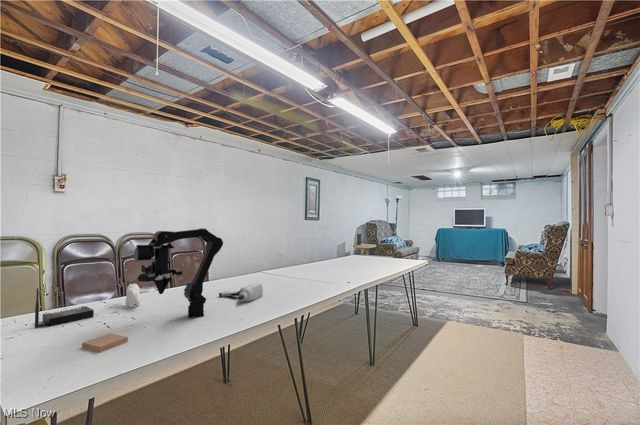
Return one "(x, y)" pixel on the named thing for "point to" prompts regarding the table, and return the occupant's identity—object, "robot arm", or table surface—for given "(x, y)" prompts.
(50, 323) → the black l-shaped piece
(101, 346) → the tile
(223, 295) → the impact wrench
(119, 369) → the table surface
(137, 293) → the white dinosaur figurine
